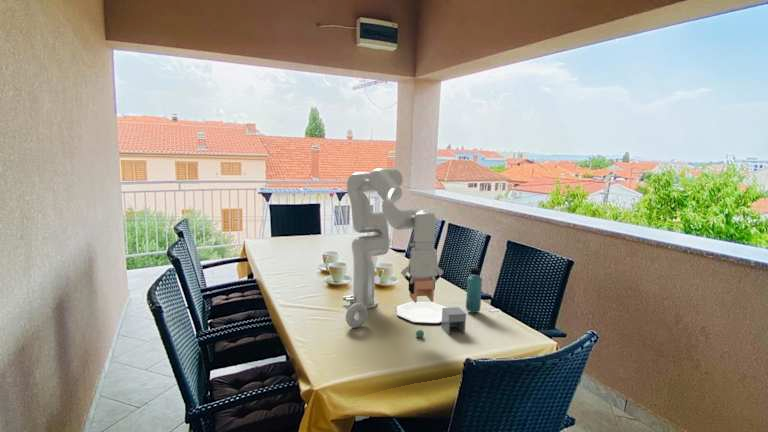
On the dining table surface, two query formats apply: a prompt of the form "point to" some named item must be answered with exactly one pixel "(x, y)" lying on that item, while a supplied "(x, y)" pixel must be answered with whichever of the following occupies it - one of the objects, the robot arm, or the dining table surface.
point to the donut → (351, 314)
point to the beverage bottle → (474, 291)
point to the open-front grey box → (453, 319)
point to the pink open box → (423, 288)
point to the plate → (421, 312)
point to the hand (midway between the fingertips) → (421, 292)
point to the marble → (419, 333)
